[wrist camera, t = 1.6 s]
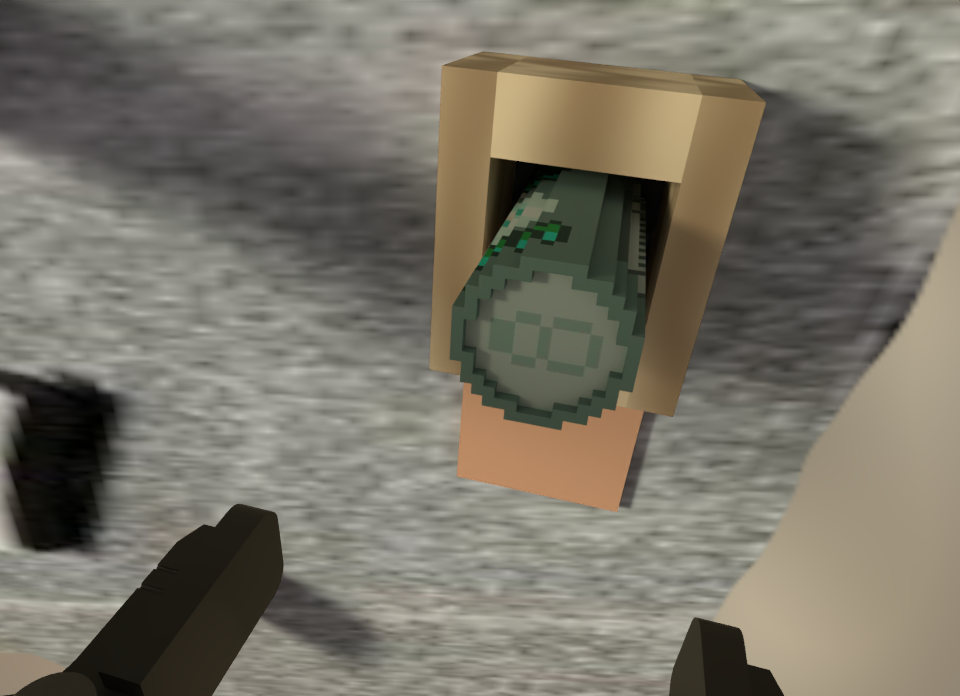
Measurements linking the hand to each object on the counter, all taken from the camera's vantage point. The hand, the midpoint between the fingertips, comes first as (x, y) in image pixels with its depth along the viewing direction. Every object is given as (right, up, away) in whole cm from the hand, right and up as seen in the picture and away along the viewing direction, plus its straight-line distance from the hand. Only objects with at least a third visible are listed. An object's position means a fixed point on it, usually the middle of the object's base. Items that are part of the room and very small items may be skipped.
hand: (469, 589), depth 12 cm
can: (+6, +12, +21) cm, 25 cm away
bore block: (+6, +12, +21) cm, 25 cm away
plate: (+5, 0, +28) cm, 28 cm away
